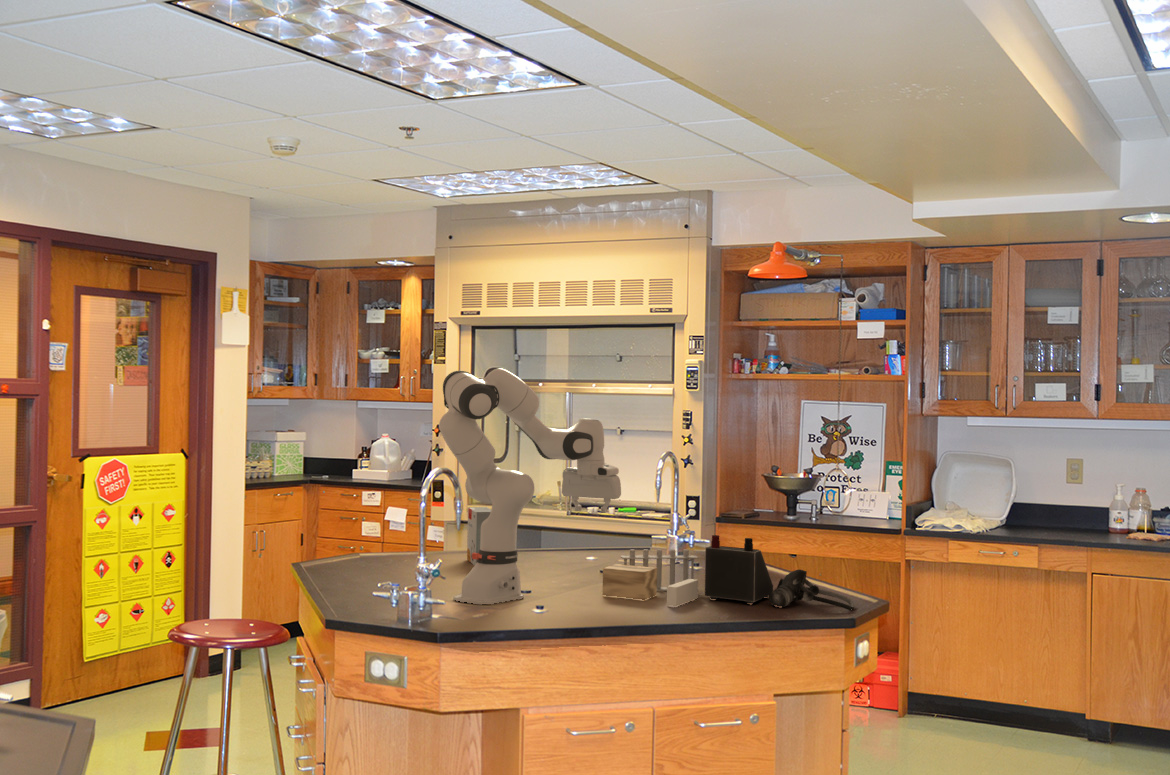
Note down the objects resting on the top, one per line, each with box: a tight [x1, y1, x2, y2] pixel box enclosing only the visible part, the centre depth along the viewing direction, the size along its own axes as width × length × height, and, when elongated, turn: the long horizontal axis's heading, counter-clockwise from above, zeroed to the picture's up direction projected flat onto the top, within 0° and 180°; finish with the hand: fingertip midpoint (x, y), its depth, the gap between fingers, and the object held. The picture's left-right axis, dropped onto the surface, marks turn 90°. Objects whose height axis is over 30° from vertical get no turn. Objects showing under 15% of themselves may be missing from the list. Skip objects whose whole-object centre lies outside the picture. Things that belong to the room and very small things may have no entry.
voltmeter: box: [704, 534, 774, 603], centre depth 319 cm, size 16×16×20 cm
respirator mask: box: [768, 568, 855, 611], centre depth 311 cm, size 20×22×15 cm
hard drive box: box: [466, 506, 492, 567], centre depth 381 cm, size 16×8×20 cm, turn 17°
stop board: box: [666, 578, 699, 606], centre depth 311 cm, size 16×3×6 cm, turn 150°
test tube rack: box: [619, 548, 699, 591], centre depth 332 cm, size 25×4×13 cm, turn 98°
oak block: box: [601, 563, 658, 600], centre depth 320 cm, size 10×14×9 cm
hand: (591, 511), depth 330 cm, fingers open, 8 cm apart
